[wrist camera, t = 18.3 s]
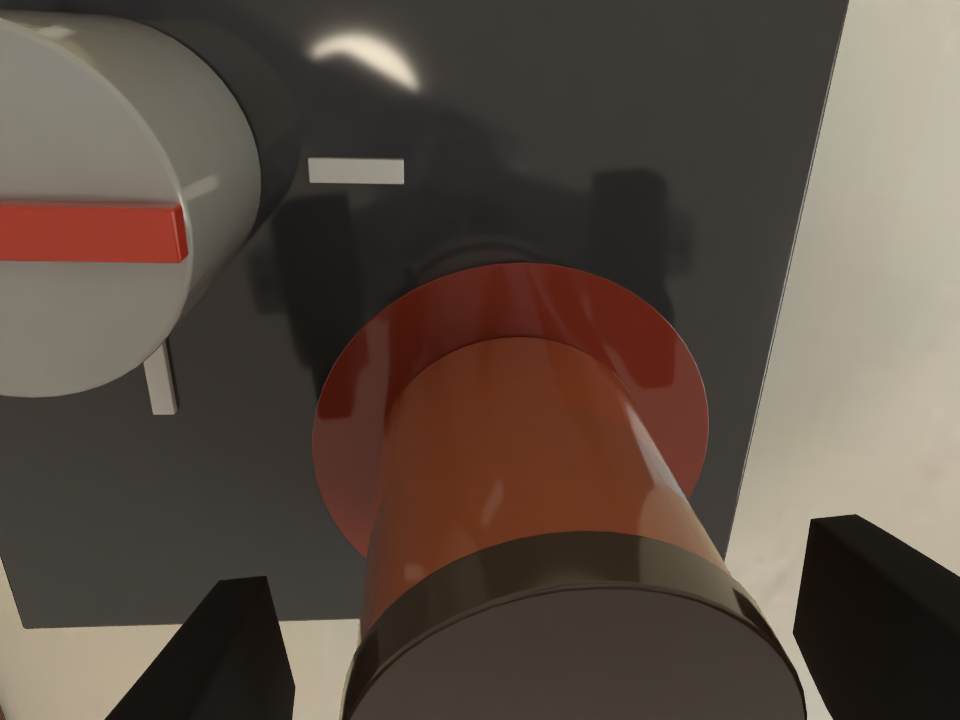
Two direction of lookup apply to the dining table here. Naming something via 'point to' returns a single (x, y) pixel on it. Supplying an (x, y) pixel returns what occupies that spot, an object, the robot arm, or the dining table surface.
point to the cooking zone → (491, 315)
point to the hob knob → (109, 195)
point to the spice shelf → (1, 714)
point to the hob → (417, 261)
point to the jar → (546, 560)
